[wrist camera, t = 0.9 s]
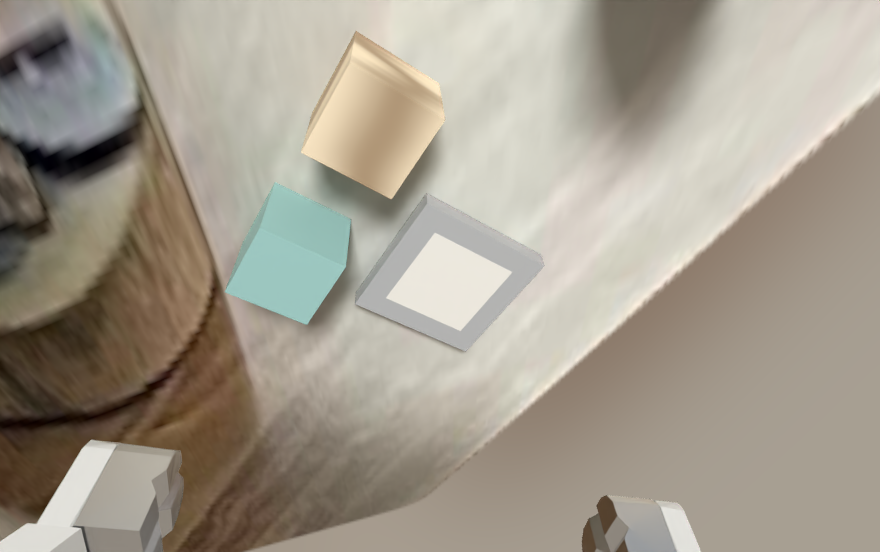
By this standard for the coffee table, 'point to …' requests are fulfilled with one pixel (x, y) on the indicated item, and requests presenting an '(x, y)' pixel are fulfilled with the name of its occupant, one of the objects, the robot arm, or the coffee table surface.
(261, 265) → the teal cube
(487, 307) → the plate
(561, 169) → the coffee table surface
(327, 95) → the maple cube
